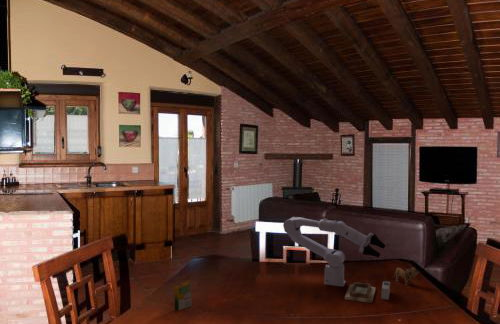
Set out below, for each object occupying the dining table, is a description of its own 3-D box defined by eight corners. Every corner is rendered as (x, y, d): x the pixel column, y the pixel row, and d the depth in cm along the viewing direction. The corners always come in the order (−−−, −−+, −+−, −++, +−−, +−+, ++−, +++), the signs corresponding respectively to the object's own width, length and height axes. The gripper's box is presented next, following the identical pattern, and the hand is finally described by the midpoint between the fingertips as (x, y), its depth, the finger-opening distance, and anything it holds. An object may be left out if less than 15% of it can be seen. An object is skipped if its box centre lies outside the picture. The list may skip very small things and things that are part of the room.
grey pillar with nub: (381, 299, 192) (381, 286, 191) (383, 291, 201) (383, 279, 201) (388, 300, 191) (388, 287, 190) (389, 292, 200) (389, 280, 200)
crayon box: (187, 304, 184) (186, 277, 184) (191, 305, 183) (191, 279, 182) (174, 309, 179) (173, 282, 178) (178, 311, 177) (178, 283, 176)
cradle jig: (344, 299, 191) (344, 292, 191) (350, 286, 208) (350, 280, 207) (372, 303, 186) (372, 296, 186) (375, 289, 203) (375, 283, 203)
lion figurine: (419, 285, 209) (419, 267, 209) (412, 287, 206) (413, 269, 206) (394, 277, 222) (394, 260, 221) (387, 279, 219) (388, 262, 218)
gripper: (353, 238, 199) (380, 253, 194) (364, 223, 210) (389, 237, 204) (348, 249, 203) (374, 264, 198) (359, 233, 214) (384, 247, 208)
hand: (382, 251), depth 201 cm, fingers open, 7 cm apart
